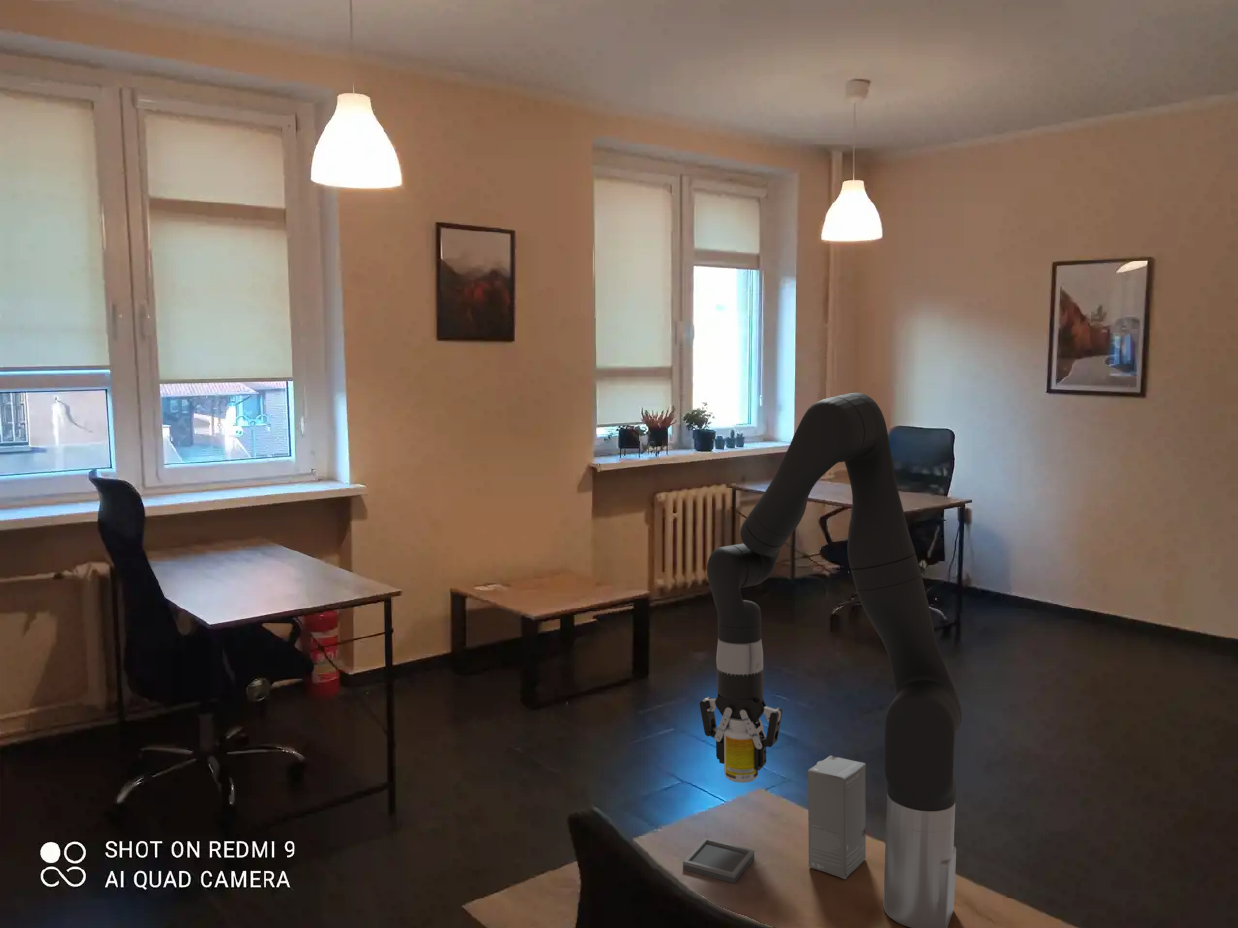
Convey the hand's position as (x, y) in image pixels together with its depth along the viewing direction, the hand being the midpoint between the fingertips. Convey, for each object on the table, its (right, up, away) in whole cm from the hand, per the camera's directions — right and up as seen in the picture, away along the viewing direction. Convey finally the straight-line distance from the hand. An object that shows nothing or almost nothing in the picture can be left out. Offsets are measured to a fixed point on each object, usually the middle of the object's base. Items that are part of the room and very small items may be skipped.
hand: (741, 764), depth 160 cm
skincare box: (+14, -13, -8) cm, 21 cm away
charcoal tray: (-4, -13, -8) cm, 16 cm away
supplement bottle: (0, -2, 0) cm, 2 cm away
